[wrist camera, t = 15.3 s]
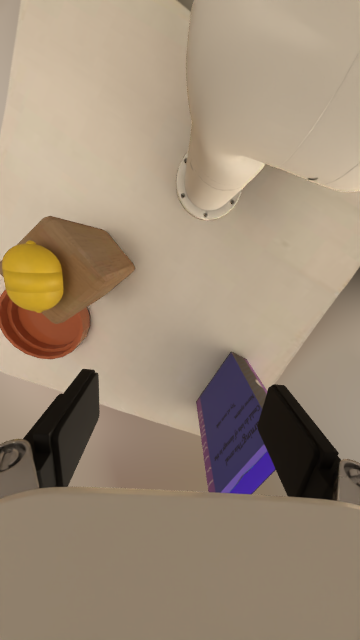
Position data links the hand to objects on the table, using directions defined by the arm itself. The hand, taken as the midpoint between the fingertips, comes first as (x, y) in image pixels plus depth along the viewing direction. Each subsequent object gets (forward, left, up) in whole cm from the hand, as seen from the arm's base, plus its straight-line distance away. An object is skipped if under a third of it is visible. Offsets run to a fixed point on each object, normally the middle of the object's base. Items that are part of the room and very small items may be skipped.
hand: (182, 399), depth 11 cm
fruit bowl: (+10, -28, -36) cm, 47 cm away
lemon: (-3, -16, -16) cm, 23 cm away
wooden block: (-3, -16, -36) cm, 40 cm away
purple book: (+24, +14, -36) cm, 46 cm away
